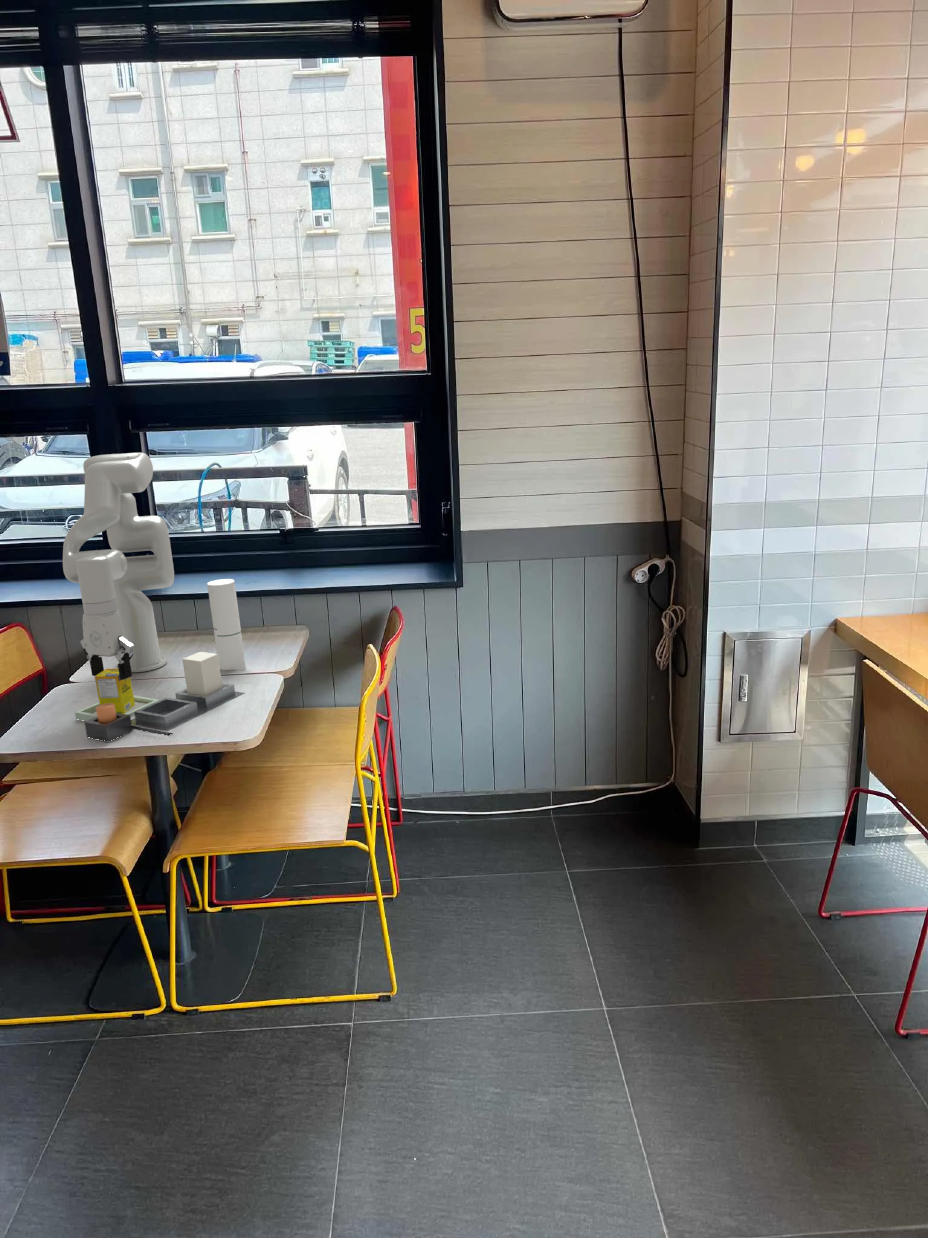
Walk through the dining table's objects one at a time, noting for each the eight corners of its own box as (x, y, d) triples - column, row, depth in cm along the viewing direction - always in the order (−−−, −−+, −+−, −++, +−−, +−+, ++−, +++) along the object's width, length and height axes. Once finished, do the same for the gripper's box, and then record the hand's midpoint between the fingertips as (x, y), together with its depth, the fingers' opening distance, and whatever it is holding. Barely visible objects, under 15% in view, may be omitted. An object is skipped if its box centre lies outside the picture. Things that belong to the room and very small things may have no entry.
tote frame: (76, 720, 218) (74, 712, 217) (121, 700, 229) (120, 693, 229) (116, 728, 211) (114, 720, 210) (161, 707, 223) (160, 699, 222)
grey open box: (125, 727, 211) (123, 712, 210) (204, 690, 233) (202, 677, 232) (168, 736, 204) (166, 720, 203) (245, 697, 226) (244, 683, 225)
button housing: (87, 738, 206) (84, 722, 205) (111, 727, 212) (109, 711, 211) (108, 742, 203) (105, 726, 201) (132, 731, 208) (130, 715, 207)
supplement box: (136, 709, 223) (129, 667, 220) (125, 718, 217) (117, 675, 214) (113, 709, 223) (106, 668, 220) (101, 718, 218) (94, 676, 215)
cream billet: (188, 701, 223) (182, 658, 220) (205, 692, 228) (200, 651, 225) (206, 704, 220) (200, 661, 217) (223, 695, 225) (217, 654, 222)
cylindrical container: (237, 663, 253) (225, 577, 247) (250, 668, 248) (239, 581, 242) (214, 670, 249) (202, 583, 242) (227, 675, 244) (215, 586, 237)
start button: (95, 725, 206) (92, 708, 205) (109, 719, 209) (106, 702, 208) (107, 727, 204) (104, 710, 203) (121, 721, 207) (118, 704, 206)
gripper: (62, 609, 214) (75, 677, 218) (113, 613, 205) (124, 684, 210) (89, 601, 220) (100, 668, 224) (138, 606, 212) (149, 674, 216)
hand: (112, 676), depth 217 cm, fingers open, 9 cm apart
